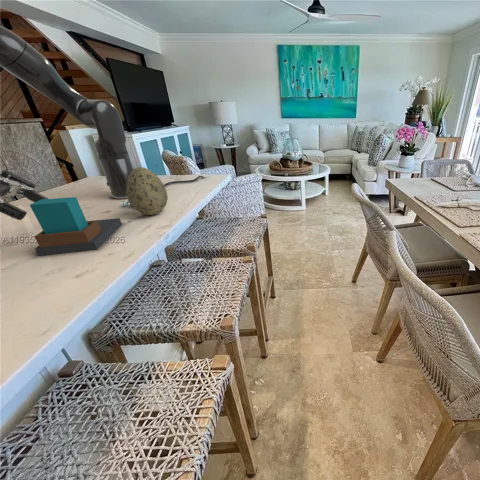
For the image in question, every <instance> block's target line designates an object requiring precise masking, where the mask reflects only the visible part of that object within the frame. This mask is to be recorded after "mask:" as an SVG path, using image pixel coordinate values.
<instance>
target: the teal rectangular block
mask: <svg viewBox="0 0 480 480" xmlns="http://www.w3.org/2000/svg"><path fill="white" fill-rule="evenodd" d="M29 207H30V208H31V211H32V212H33V214H34V216H35V218H36V220H37V222H38V224H39V225H40V227H41V229H42V231H44V233H45V234H52V233H62V232H72V231H82V230H83V229H85V228H86V227H87V226H88V223H87V221H88V220H87V219H86V216H85V214H84V212H83V209H82V207H81V205H80V203H79V200H78V198H77V196H68V197H56V198H48V199H41V200H39V201H37V202H33V203H31V204H29Z"/></svg>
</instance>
